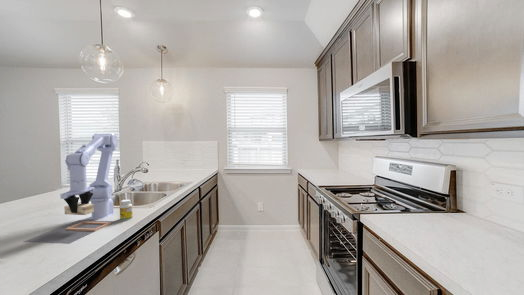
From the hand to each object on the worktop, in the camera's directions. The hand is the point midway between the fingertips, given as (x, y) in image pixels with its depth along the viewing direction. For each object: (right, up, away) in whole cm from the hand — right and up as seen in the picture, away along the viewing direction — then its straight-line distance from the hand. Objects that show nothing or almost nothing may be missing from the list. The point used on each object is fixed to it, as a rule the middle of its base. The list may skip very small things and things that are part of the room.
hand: (79, 210), depth 101 cm
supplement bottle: (+13, -8, +13) cm, 20 cm away
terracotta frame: (+3, -8, +2) cm, 8 cm away
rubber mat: (-1, -8, -2) cm, 9 cm away
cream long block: (0, -1, 0) cm, 1 cm away
